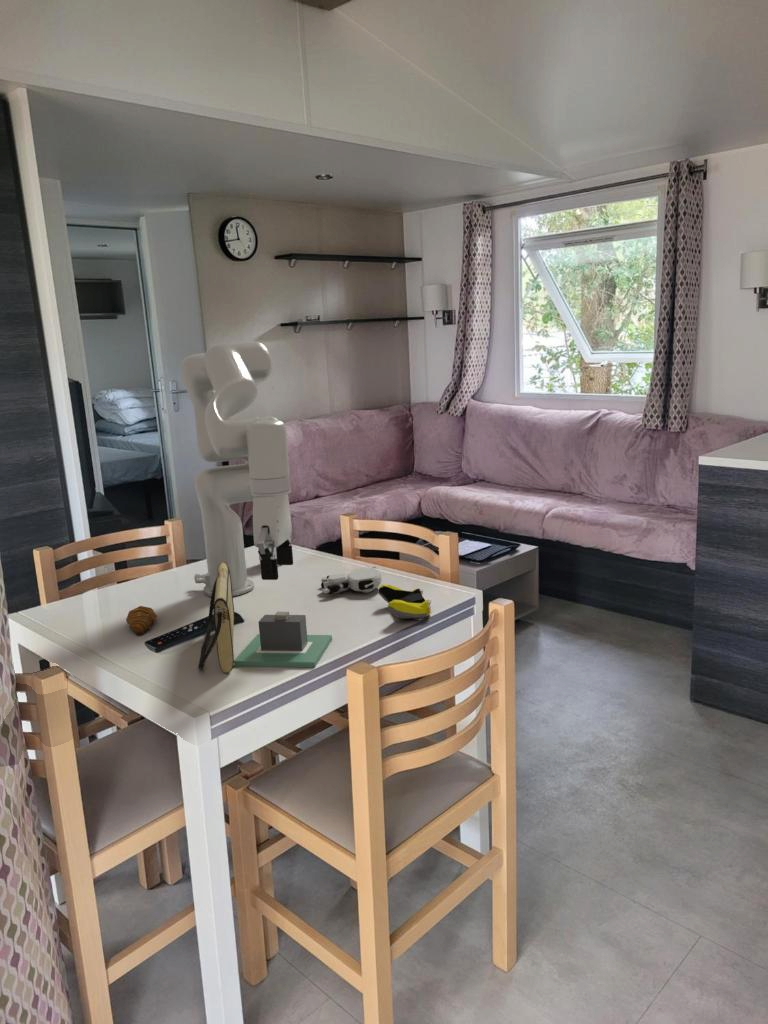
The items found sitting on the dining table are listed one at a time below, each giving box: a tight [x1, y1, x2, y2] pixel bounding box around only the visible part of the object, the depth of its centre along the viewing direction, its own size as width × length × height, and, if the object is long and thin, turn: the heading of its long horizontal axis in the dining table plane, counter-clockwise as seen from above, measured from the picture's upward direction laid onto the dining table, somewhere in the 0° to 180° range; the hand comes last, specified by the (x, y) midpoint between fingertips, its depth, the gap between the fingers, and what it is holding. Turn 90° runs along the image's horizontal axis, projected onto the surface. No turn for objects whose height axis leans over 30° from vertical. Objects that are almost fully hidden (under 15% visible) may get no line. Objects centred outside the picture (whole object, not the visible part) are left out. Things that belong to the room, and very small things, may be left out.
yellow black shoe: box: [378, 584, 432, 620], centre depth 171 cm, size 15×6×10 cm
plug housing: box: [258, 611, 308, 651], centre depth 152 cm, size 8×4×7 cm, turn 80°
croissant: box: [125, 605, 158, 636], centre depth 172 cm, size 14×7×5 cm, turn 11°
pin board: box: [233, 633, 333, 668], centre depth 152 cm, size 16×14×4 cm
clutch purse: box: [197, 562, 236, 674], centre depth 154 cm, size 30×7×15 cm, turn 11°
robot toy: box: [320, 565, 382, 595], centre depth 190 cm, size 12×4×15 cm
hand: (278, 571), depth 150 cm, fingers open, 9 cm apart
